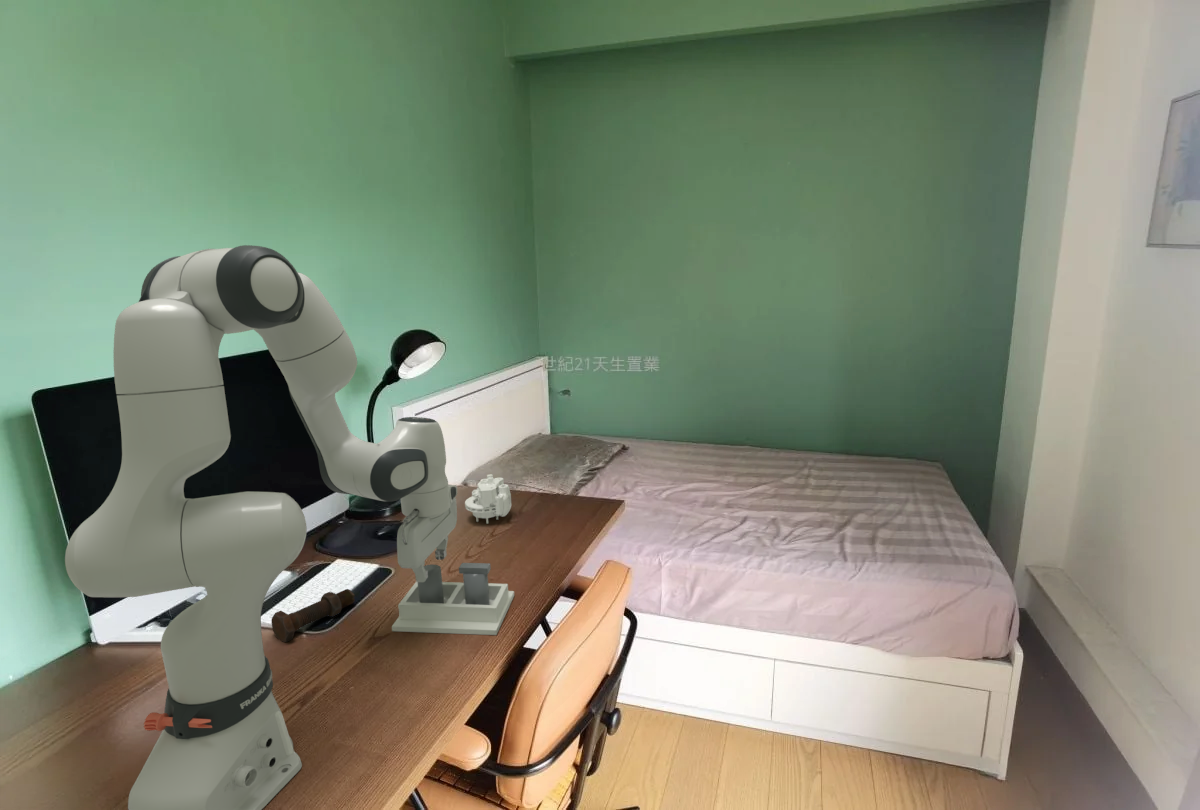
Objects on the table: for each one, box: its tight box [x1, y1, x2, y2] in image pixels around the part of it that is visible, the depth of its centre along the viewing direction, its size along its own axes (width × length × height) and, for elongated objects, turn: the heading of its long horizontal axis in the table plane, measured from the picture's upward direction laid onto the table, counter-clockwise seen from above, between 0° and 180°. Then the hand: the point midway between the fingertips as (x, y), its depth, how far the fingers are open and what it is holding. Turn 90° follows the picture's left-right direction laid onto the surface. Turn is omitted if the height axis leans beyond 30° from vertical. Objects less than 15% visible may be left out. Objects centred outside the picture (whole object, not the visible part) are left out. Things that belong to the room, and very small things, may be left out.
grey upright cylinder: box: [418, 564, 444, 604], centre depth 124 cm, size 5×5×8 cm
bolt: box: [271, 588, 356, 643], centre depth 122 cm, size 6×5×15 cm
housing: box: [391, 562, 515, 636], centre depth 123 cm, size 14×20×10 cm
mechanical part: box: [464, 474, 512, 524], centre depth 167 cm, size 11×12×12 cm
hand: (432, 569), depth 122 cm, fingers open, 8 cm apart
